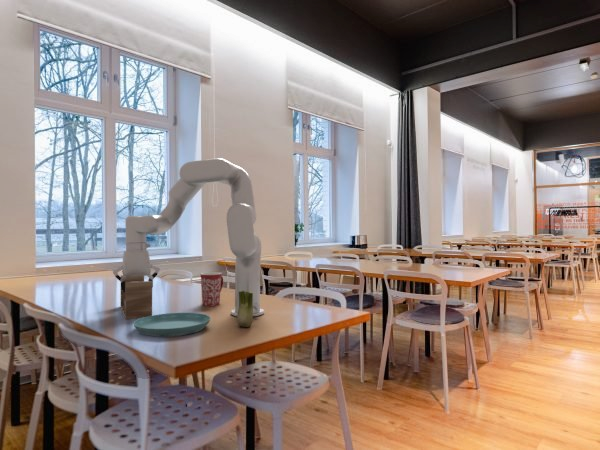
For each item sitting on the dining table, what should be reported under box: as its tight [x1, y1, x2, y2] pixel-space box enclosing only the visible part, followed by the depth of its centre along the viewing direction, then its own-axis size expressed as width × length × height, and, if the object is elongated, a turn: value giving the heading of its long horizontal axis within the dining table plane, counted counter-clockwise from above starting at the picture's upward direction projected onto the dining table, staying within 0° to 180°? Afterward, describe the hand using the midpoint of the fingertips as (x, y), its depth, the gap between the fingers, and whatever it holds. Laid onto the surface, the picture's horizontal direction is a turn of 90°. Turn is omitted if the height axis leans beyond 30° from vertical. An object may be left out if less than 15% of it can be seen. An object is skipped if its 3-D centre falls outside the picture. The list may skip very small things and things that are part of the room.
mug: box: [200, 271, 224, 307], centre depth 179 cm, size 13×9×14 cm
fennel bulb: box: [236, 291, 254, 328], centre depth 138 cm, size 6×5×12 cm
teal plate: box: [132, 312, 211, 338], centre depth 135 cm, size 24×24×3 cm
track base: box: [119, 274, 153, 320], centre depth 162 cm, size 26×9×13 cm, turn 28°
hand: (137, 290), depth 162 cm, fingers open, 9 cm apart
